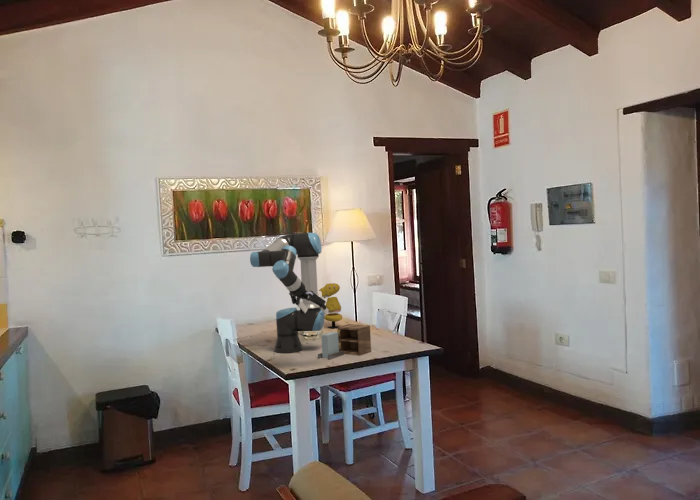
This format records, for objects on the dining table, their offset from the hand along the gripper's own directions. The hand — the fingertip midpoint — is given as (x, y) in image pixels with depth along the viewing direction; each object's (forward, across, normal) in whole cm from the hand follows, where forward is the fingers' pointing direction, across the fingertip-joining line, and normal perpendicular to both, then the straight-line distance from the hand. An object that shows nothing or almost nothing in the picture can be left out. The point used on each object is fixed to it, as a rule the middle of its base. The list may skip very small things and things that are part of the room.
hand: (316, 311), depth 289 cm
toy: (+74, -54, +36) cm, 99 cm away
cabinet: (+29, +5, -7) cm, 30 cm away
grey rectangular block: (+24, 0, -11) cm, 27 cm away
